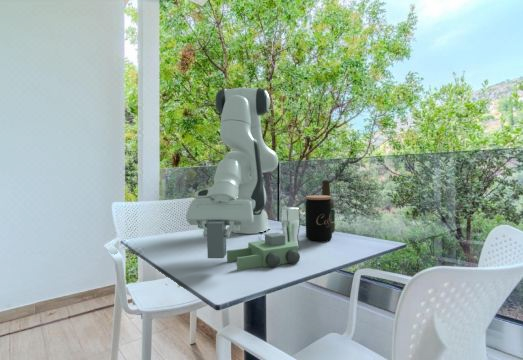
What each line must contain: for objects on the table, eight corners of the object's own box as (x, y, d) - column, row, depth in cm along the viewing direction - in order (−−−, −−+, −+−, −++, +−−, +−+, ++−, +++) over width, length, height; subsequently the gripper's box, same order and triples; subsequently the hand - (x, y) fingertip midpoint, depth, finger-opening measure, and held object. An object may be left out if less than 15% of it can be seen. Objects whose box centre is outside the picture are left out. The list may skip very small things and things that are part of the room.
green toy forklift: (224, 259, 104) (223, 235, 104) (277, 251, 112) (276, 229, 112) (242, 273, 89) (241, 245, 89) (301, 262, 98) (300, 237, 98)
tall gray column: (211, 253, 93) (210, 220, 92) (226, 253, 93) (225, 220, 92) (207, 258, 89) (206, 223, 88) (223, 258, 88) (222, 223, 88)
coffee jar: (317, 243, 123) (316, 198, 122) (300, 238, 132) (300, 196, 131) (337, 240, 128) (337, 196, 127) (320, 235, 137) (319, 194, 137)
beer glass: (299, 250, 113) (299, 209, 113) (280, 249, 114) (279, 209, 114) (301, 245, 120) (300, 206, 119) (283, 245, 121) (282, 206, 121)
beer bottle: (317, 229, 150) (316, 180, 150) (333, 229, 150) (333, 179, 149) (319, 233, 143) (318, 180, 142) (336, 233, 142) (335, 180, 141)
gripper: (257, 204, 100) (253, 242, 91) (195, 204, 102) (185, 241, 93) (255, 191, 95) (250, 230, 86) (190, 192, 98) (179, 229, 89)
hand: (216, 236), depth 90 cm, fingers closed on tall gray column, 5 cm apart
